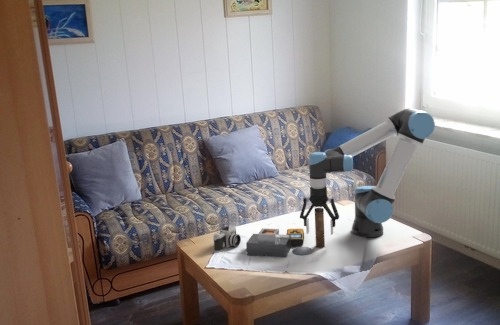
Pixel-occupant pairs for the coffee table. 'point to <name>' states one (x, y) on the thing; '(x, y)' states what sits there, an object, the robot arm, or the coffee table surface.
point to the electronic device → (296, 236)
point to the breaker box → (269, 244)
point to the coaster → (302, 250)
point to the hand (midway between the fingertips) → (319, 233)
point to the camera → (226, 238)
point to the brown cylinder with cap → (319, 227)
